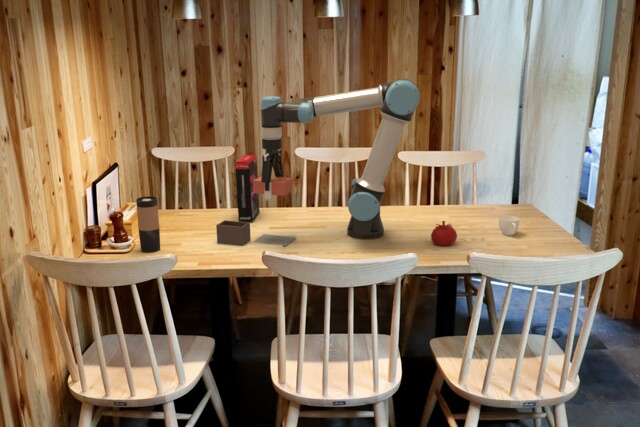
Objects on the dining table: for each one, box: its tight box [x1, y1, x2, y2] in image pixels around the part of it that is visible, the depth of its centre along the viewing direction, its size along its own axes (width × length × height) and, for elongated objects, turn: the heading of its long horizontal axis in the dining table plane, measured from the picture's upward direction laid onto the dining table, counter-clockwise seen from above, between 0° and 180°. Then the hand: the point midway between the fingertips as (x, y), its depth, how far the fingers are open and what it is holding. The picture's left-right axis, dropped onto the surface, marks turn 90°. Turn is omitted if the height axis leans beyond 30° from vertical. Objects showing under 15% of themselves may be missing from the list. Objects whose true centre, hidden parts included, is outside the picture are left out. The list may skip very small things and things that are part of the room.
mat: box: [252, 233, 297, 248], centre depth 247 cm, size 14×11×1 cm
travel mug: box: [135, 195, 161, 254], centre depth 235 cm, size 8×8×20 cm
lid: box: [253, 175, 293, 197], centre depth 241 cm, size 13×9×5 cm
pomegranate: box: [430, 220, 458, 247], centre depth 242 cm, size 10×10×9 cm
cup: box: [498, 215, 520, 237], centre depth 253 cm, size 8×10×7 cm
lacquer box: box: [215, 219, 251, 247], centre depth 244 cm, size 11×7×8 cm, turn 72°
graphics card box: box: [234, 154, 260, 223], centre depth 277 cm, size 17×7×27 cm, turn 175°
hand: (273, 195), depth 243 cm, fingers closed on lid, 9 cm apart
